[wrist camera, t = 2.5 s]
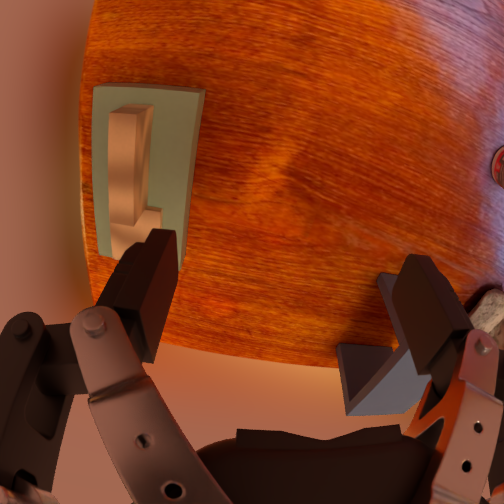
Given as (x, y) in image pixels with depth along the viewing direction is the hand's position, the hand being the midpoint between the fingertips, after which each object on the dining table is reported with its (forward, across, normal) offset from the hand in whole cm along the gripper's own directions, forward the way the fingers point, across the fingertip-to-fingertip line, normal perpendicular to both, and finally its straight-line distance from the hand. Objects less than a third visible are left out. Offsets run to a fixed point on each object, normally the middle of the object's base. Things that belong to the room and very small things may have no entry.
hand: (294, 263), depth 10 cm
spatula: (+18, +13, +7) cm, 23 cm away
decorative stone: (+21, -38, +22) cm, 49 cm away
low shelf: (+21, +12, +6) cm, 25 cm away
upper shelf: (+21, -20, +24) cm, 38 cm away
